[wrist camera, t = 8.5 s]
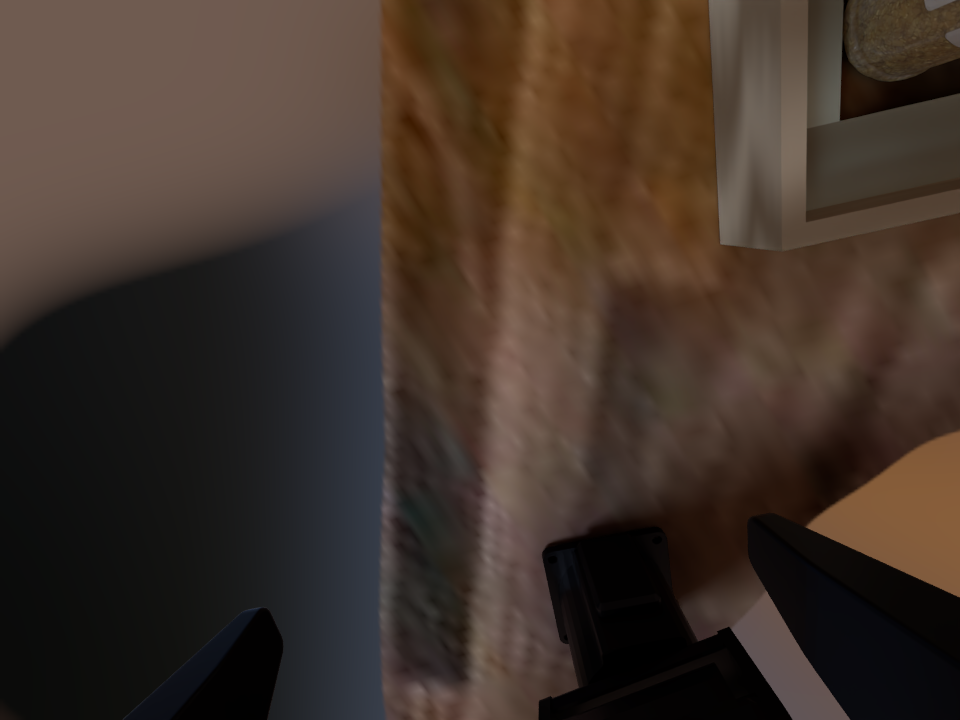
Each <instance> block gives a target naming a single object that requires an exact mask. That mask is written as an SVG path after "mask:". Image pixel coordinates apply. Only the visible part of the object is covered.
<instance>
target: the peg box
mask: <svg viewBox="0 0 960 720" xmlns="http://www.w3.org/2000/svg"><path fill="white" fill-rule="evenodd" d="M709 17H710V38H711V59H712V80H713V101H714V123H715V144H716V165H717V186H718V207H719V228H720V244H724V245H732V246H740V247H749V248H757V249H765V250H773V251H787V250H791V249H796V248H800V247H805V246H810V245H814V244H819V243H823V242H828V241H833V240H837V239H842V238H846V237H851V236H856V235H860V234H865V233H869V232H874V231H879V230H883V229H888V228H892V227H897V226H902V225H906V224H911V223H915V222H920V221H925V220H929V219H934V218H938V217H943V216H948V215H952V214H957V213H960V93H959V94H955V95H951V96H946V97H942V98H938V99H933V100H929V101H925V102H920V103H916V104H912V105H907V106H903V107H899V108H894V109H890V110H886V111H881V112H877V113H873V114H868V115H864V116H860V117H855V118H851V119H847V120H842V121H840V96H841V64H842V32H843V0H709Z"/></svg>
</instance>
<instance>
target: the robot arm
mask: <svg viewBox="0 0 960 720" xmlns="http://www.w3.org/2000/svg"><path fill="white" fill-rule="evenodd" d="M747 529H748V555H749V559H750V562H751V564H752V566H753V568H754V570H755V572H756V573H757V575H758V577H759V579H760V580H761V582H762V584H763V585H764V587H765V589H766V591H767V592H768V594H769V596H770V597H771V599H772V601H773V602H774V604H775V606H776V607H777V609H778V611H779V613H780V614H781V616H782V618H783V619H784V621H785V623H786V625H787V626H788V628H789V630H790V632H791V633H792V635H793V637H794V638H795V640H796V642H797V643H798V645H799V646H800V648H801V650H802V651H803V653H804V655H805V656H806V658H807V659H808V661H809V662H810V663H811V665H812V666H813V668H814V669H815V671H816V672H817V674H818V675H819V676H820V678H821V679H822V681H823V682H824V683H825V685H826V686H827V688H828V689H829V690H830V692H831V693H832V695H833V696H834V697H835V699H836V700H837V702H838V703H839V704H840V706H841V707H842V709H843V710H844V711H845V713H846V714H847V716H848V717H849V718H850V720H960V597H957V596H955V595H953V594H951V593H948V592H946V591H944V590H942V589H940V588H938V587H935V586H933V585H931V584H929V583H926V582H924V581H922V580H919V579H918V578H916V577H913V576H911V575H909V574H906V573H905V572H902V571H900V570H898V569H896V568H893V567H891V566H889V565H887V564H885V563H883V562H880V561H878V560H876V559H873V558H872V557H869V556H867V555H865V554H863V553H861V552H858V551H856V550H854V549H852V548H849V547H847V546H845V545H843V544H841V543H839V542H836V541H834V540H832V539H830V538H828V537H825V536H823V535H821V534H819V533H817V532H814V531H812V530H810V529H808V528H806V527H803V526H801V525H799V524H797V523H795V522H792V521H790V520H788V519H786V518H784V517H781V516H779V515H777V514H774V513H767V514H762V515H756V516H752V517H750V518H749V519H748V524H747ZM656 536H658V537H657V538H655V539H653V538H654V537H656ZM550 556H555V557H554V558H549V557H550ZM542 558H543V563H544V568H545V572H546V577H547V582H548V586H549V591H550V595H551V600H552V605H553V609H554V614H555V619H556V623H557V628H558V633H559V637H560V640H561V642H563V643H565V644H569V646H570V651H571V655H572V660H573V664H574V668H575V673H576V677H577V682H578V686H579V688H578V689H575V690H572V691H570V692H567V693H565V694H562V695H559V696H557V697H554V698H552V697H551V696H550V697H547V698H545V699H542V700H540V701H539V720H792V718H791V717H790V715H789V714H788V712H787V710H786V709H785V707H784V706H783V704H782V703H781V701H780V700H779V698H778V697H777V696H776V694H775V693H774V691H773V690H772V688H771V687H770V685H769V684H768V682H767V681H766V679H765V678H764V677H763V675H762V674H761V672H760V671H759V669H758V668H757V666H756V665H755V664H754V662H753V661H752V659H751V658H750V656H749V655H748V653H747V652H746V650H745V649H744V647H743V646H742V645H741V643H740V642H739V640H738V639H737V637H736V636H735V634H734V633H733V631H732V630H731V629H730V627H727V628H725V629H722V630H720V631H717V633H718V634H717V635H714V636H712V637H709V638H706V639H704V640H701V641H699V642H698V640H697V638H696V636H695V634H694V633H693V631H692V629H691V627H690V625H689V623H688V621H687V619H686V617H685V616H684V614H683V612H682V610H681V608H680V606H679V604H678V602H677V600H676V599H675V597H674V595H673V592H672V583H671V573H670V563H669V554H668V544H667V537H666V535H665V533H664V532H663V530H662V529H661V528H659V527H651V528H646V529H641V530H635V531H630V532H625V533H620V534H614V535H609V536H604V537H599V538H593V539H588V540H583V541H578V542H572V543H567V544H562V545H556V546H551V547H548V548H546V549H545V550H544V551H543V552H542ZM282 654H283V639H282V636H281V634H280V632H279V630H278V627H277V625H276V624H275V621H274V619H273V617H272V615H271V612H270V611H269V610H268V609H267V608H265V607H260V608H255V609H250V610H246V611H243V612H242V613H240V614H239V615H238V616H237V617H236V618H235V619H234V620H233V621H232V622H230V623H229V624H228V625H227V626H226V627H225V628H224V629H223V630H222V631H220V632H219V633H218V634H217V635H216V636H215V637H214V638H213V639H212V640H211V641H209V642H208V643H207V644H206V645H205V646H204V647H203V648H202V649H201V650H199V651H198V652H197V653H196V654H195V655H194V656H193V657H192V658H191V659H190V660H188V661H187V662H186V663H185V664H184V665H183V666H182V667H181V668H179V669H178V670H177V671H176V672H175V673H174V674H173V675H172V676H171V677H169V678H168V679H167V680H166V681H165V682H164V683H163V684H162V685H161V686H160V687H158V688H157V689H156V690H155V691H154V692H153V693H152V694H151V695H150V696H148V698H146V699H145V700H144V701H143V702H142V703H141V704H140V705H139V706H137V707H136V708H135V709H134V710H133V711H132V712H131V713H130V714H129V715H127V716H126V717H125V718H124V719H123V720H267V719H268V714H269V710H270V706H271V701H272V697H273V692H274V688H275V684H276V680H277V675H278V671H279V666H280V663H281V658H282Z"/></svg>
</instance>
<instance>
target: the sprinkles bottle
mask: <svg viewBox="0 0 960 720" xmlns="http://www.w3.org/2000/svg"><path fill="white" fill-rule="evenodd" d="M842 36H843V41H844V46H845V51H846V54H847V57H848V60H849V62H850V63H851V64H852V65H853V66H854V67H855V68H856V69H857V71H858V72H860V73H861V74H863V75H864V76H867V77H871V78H873V79H875V80H879V81H887V82H892V81H899V80H905V79H908V78H911V77H914V76H916V75H919V74H921V73H923V72H925V71H926V70H928V69H929V68H931V67H934V66H937V65H940V64H944V63H947V62H950V61H952V60H955V59H958V58H960V0H848V3H847V6H846V9H845V12H844V17H843V32H842Z"/></svg>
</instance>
